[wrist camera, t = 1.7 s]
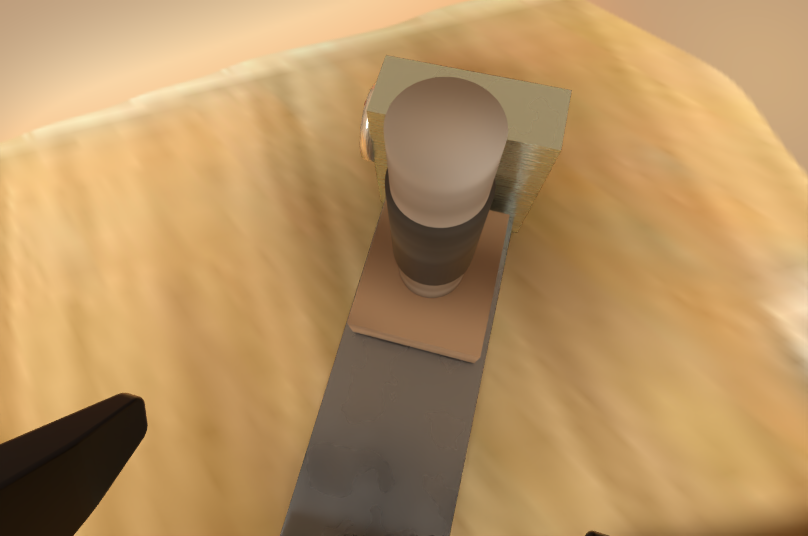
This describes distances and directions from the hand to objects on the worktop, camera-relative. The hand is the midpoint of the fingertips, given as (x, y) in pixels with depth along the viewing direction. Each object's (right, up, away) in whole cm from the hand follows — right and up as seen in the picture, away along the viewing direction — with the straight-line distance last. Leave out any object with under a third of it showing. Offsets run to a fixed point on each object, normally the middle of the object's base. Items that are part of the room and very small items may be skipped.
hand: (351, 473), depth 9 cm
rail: (+1, -1, +14) cm, 14 cm away
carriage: (+2, +3, +14) cm, 14 cm away
